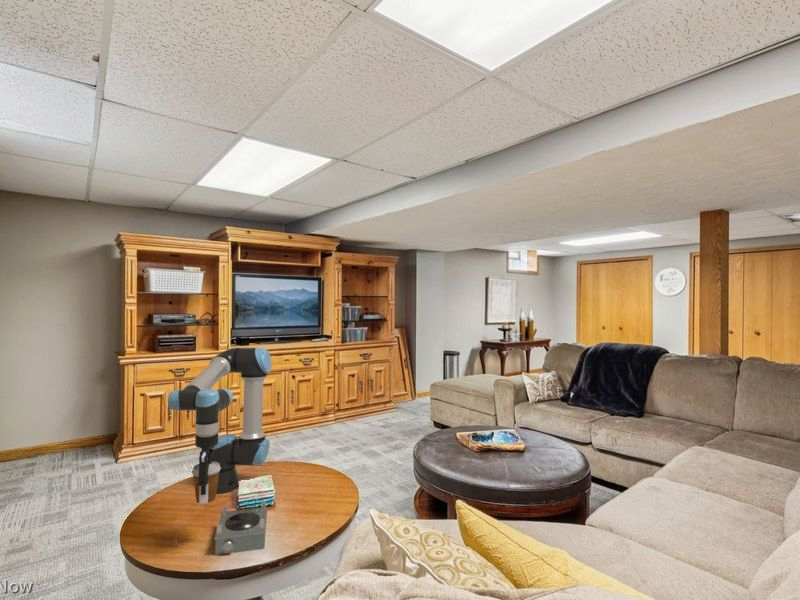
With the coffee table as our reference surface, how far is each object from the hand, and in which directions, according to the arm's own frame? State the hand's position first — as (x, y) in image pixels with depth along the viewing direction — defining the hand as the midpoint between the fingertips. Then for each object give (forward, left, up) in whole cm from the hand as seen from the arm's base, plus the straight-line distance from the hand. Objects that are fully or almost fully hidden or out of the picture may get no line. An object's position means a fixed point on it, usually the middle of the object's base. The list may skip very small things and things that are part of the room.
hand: (206, 497), depth 153 cm
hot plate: (0, +12, -16) cm, 20 cm away
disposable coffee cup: (0, 0, -1) cm, 1 cm away
